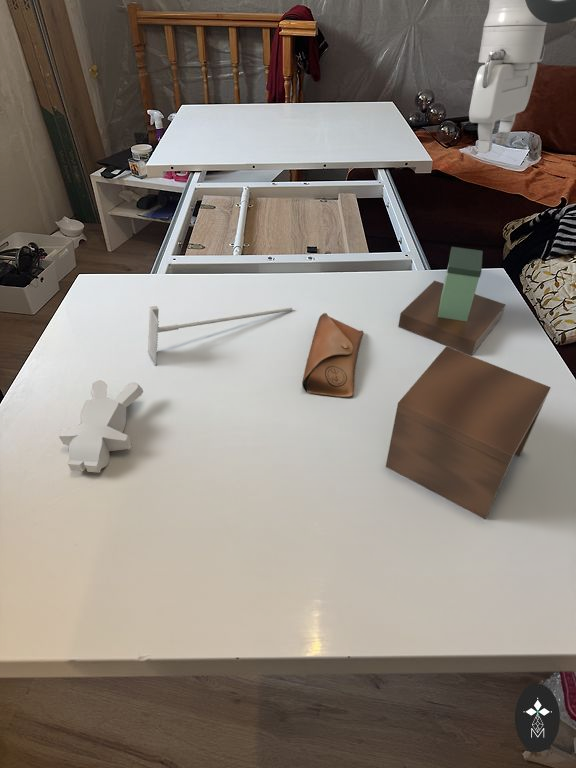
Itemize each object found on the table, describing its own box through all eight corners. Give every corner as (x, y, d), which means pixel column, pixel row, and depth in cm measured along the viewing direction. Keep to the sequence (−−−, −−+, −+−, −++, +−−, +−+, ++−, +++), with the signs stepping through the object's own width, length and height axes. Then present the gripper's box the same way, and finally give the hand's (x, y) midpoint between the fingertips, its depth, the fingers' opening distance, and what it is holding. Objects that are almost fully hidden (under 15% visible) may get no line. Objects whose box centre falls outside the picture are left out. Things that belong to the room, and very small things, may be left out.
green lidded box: (440, 295, 99) (451, 246, 92) (469, 300, 97) (482, 250, 91) (437, 317, 93) (448, 266, 87) (467, 322, 92) (481, 271, 86)
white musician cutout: (42, 455, 68) (82, 370, 78) (55, 476, 72) (92, 393, 82) (114, 460, 68) (145, 374, 78) (123, 481, 71) (152, 396, 81)
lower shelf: (501, 317, 99) (505, 304, 97) (471, 355, 90) (475, 341, 88) (431, 293, 105) (434, 280, 103) (397, 326, 96) (400, 313, 94)
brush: (294, 339, 101) (306, 299, 95) (154, 366, 88) (157, 321, 82) (285, 327, 104) (295, 287, 97) (147, 351, 90) (148, 306, 84)
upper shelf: (522, 450, 74) (551, 387, 66) (485, 519, 66) (512, 455, 58) (430, 408, 81) (446, 345, 73) (385, 466, 72) (397, 402, 64)
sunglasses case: (356, 397, 82) (336, 366, 78) (316, 409, 85) (296, 379, 81) (364, 329, 95) (348, 300, 91) (330, 341, 98) (312, 314, 95)
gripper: (512, 50, 72) (493, 159, 80) (547, 48, 86) (528, 140, 94) (466, 51, 75) (452, 155, 83) (507, 48, 89) (492, 138, 97)
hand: (492, 147), depth 88 cm, fingers open, 8 cm apart
